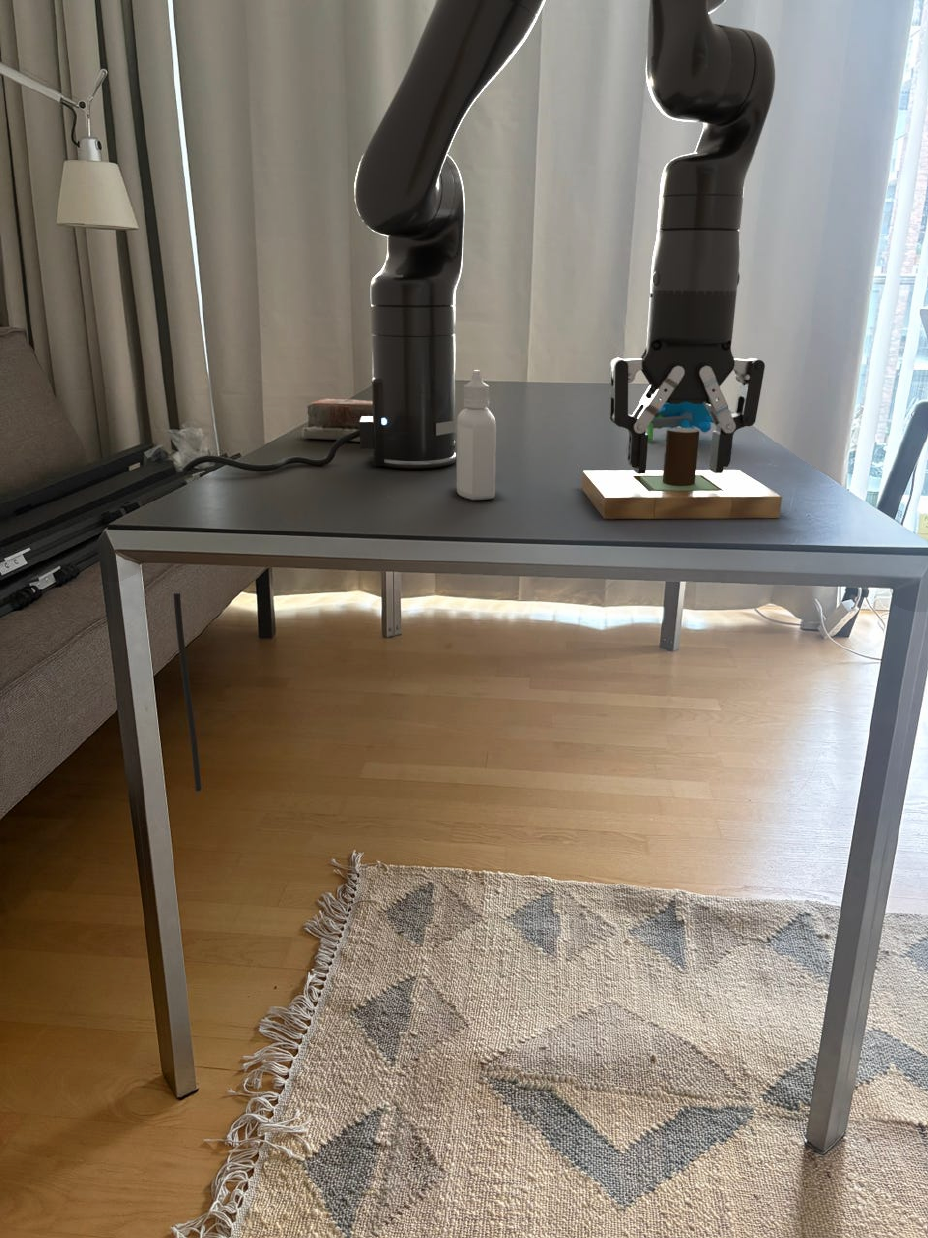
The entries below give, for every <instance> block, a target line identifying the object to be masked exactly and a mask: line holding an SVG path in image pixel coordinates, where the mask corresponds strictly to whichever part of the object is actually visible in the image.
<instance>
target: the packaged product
mask: <svg viewBox="0 0 928 1238" xmlns="http://www.w3.org/2000/svg"><path fill="white" fill-rule="evenodd" d="M362 416H373V404H372V400H364V399H346V398H345V399H343V398H321V399H318V400H315V401H313V402H311V403H309V404H308V405H307V417H308V418H307V426H306V427H305V426H303V427H302V430H301V436H302V439H307V440H319V441H334V442H336V441H337V440H339V439H340V438H342V437H344V436H346V435H348V434H350V433H353V432H355V431H357V430H360V427H359V422H360V419H361V417H362ZM349 442H350V443H351V442H352V443H360V437H357V438H355V439H353V440H350V441H349Z"/></svg>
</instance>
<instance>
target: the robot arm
mask: <svg viewBox="0 0 928 1238" xmlns="http://www.w3.org/2000/svg"><path fill="white" fill-rule="evenodd" d="M726 1H727V0H649V6H648V20H647V21H648V22H647V26H648V27H647V43H646V60H645V76H646V84H647V87H648V88H647V89H648V91H649V93H650V96H651V99H652V101H653V103H654V104H655V106H656V107H657V108H658V110H659V111H660V113H662V114H663V115H664V116H666V117H667V118H669V119H672V120H675V121H680V122H689V123H700V124H703V126H702V131H701V134H700V137H699V140H698V142H697V145H696V148H695V150H694V152H693V153H688V154H683V155H680V156H677V157H674V158H673V159H671V160H670V161H669V162H667V164H666V165H665V166H664V169H663V172H662V176H661V181H660V192H659V205H658V217H657V232H656V239H655V244H654V249H653V254H652V261H651V262H652V263H651V274H650V289H649V302H648V315H647V316H648V317H647V331H646V343H645V344H646V345H645V349H644V351H643V353H642V354H641V356H640V358H622V357H621V358H620V357H614V358H612V359H611V360H610V362H609V419H610V421H611V422H612V423H613V424H615V426H617V427H618V428H623V429H626V430H627V431H628V447H627V462H628V465H629V466H630V467H631V468H633V471H635V472H636V473H637V474H645V472H646V471H647V459H648V458H647V457H648V447H649V446H648V443H649V441H648V434H647V433H646V432H647V430H648V426H649V424H650V423H651V421H652V420H653V418H654V417H655V415H656V414H658V413H659V412H660V410H661V409H662V407H663V406H664V404H665V403H666V402H667V403H669V404H679V403H683V402H690V403H694V404H703V403H704V405H705V407H706V409H707V410H708V411H709V413H710V415H711V417H712V420H713V422H714V423H713V424H714V426H715V430H712V433H711V435H712V436H711V444H710V445H711V446H710V454H709V465H708V467H709V470H711V471H712V472H714V473H722V472H723V470H725V469H724V468H728V467H729V465H730V463H731V458H732V450H733V449H732V448H733V439H734V434H735V432H736V431H737V430H740V429H742V428H745V427H753V426H754V424H755V423H756V420H757V415H758V408H759V403H760V397H761V391H762V386H763V380H764V373H765V368H766V365H765V362H764V360H761V359H759V358H758V359H757V358H754V357H747V358H745V359H744V358H734V355H733V353H732V341H733V331H734V323H735V313H736V303H737V295H738V286H739V284H740V265H741V264H740V263H741V244H740V243H741V242H740V241H741V239H740V235H741V231H740V230H741V223H742V213H743V203H744V195H745V194H744V192H745V184H746V183H745V182H746V178H747V175H748V173H749V170H750V167H751V164H752V161H753V160H754V159H753V158H754V156H755V153H756V150H757V148H758V144H759V141H760V138H761V135H762V133H763V129H764V126H765V123H766V120H767V118H768V114H769V111H770V108H771V105H772V101H773V98H774V93H775V87H776V64H775V59H774V54H773V51H772V49H771V46H770V44H769V42H768V41H767V40H766V39H765V38H764V36H762V35H761V34H760V33H758V32H755V31H753V30H749V29H745V28H739V27H734V26H729V25H723V24H718V23H713V21H712V19H711V17H710V14H711V13H713V12H715V11H716V10H717V9H718V8H719V7H721V6H722V5H723V4H724V3H725V2H726ZM545 2H546V0H436V2H435V3H434V6H433V9H432V10H431V13H430V15H429V17H428V20H427V21H426V24H425V26H424V29H423V32H422V34H421V36H420V38H419V41H418V43H417V45H416V48H415V50H414V53H413V56H412V58H411V61H410V63H409V66H408V68H407V70H406V71H405V74H404V76H403V78H402V81H401V82H400V84H399V87H398V88H397V91H396V92H395V93H394V96H393V97H392V100H391V102H390V104H389V105H388V107H387V109H386V111H385V113H384V115H383V116H382V118H381V121H380V122H379V124H378V125H377V128H376V129H375V131H374V134H373V135H372V137H371V139H370V141H369V142H368V144H367V147H366V148H365V150H364V152H363V155H362V156H361V159H360V161H359V164H358V167H357V170H356V174H355V180H354V185H353V187H354V189H353V191H354V192H353V193H354V202H355V207H356V211H357V213H358V215H359V218H360V220H362V222H363V224H364V225H365V226H366V227H367V228H368V229H369V230H371V231H372V232H374V233H376V234H379V235H381V236H385V237H387V247H386V258H385V261H384V264H383V266H382V268H381V269H380V271H379V272H378V273H377V274H375V276H374V277H372V279H371V281H370V305H371V306H370V314H371V315H370V321H371V353H372V356H371V357H372V380H371V397H372V398H371V401H372V404H373V416H362V417H361V419H360V422H359V427H360V430H357V431H355V432H353V433H350V434H348V435H346V436H344V437H342V438H340V439H339V440H337V441H334V443H333V444H332V445H331V446H330V449H329V452H328V454H327V455H326V456H325V457H324V458H320V459H314V458H310V457H305V456H298V455H297V456H290V457H289V456H288V457H285V458H283V459H280V460H278V461H276V462H274V463H269V464H253V463H247V462H242V461H238V460H234V459H232V458H228V457H224V456H221V455H215V454H214V455H210V454H209V455H201V456H199V457H197V458H195V459H192V461H190V462H188V463H186V465H185V466H184V467H183V468H182V470H181V471H182V472H190V471H192V470H193V469H194V468H196V467H197V466H199V465H201V464H207V463H216V464H221V465H225V466H229V467H232V468H236V469H240V470H243V471H249V472H257V473H259V472H262V473H264V472H273V471H276V470H278V469H280V468H281V469H282V468H283V467H285V466H287V465H291V464H305V465H308V466H312V467H313V466H315V467H323V466H326V465H328V464H330V463H331V462H332V461H333V460H334V459H335V456H336V454H337V451H338V449H339V448H340V447H342V446H343V445H344V444H346V443H349V442H350V440H353V439H355V438H357V437H360V442H359V448H360V449H373V466H374V467H387V468H392V469H404V470H405V469H407V470H408V469H409V470H422V469H423V470H424V469H435V468H442V467H446V466H450V465H452V464H454V463H456V462H457V452H456V292H457V287H458V284H459V282H460V279H461V275H462V271H463V270H462V269H463V255H464V233H465V232H464V231H465V191H464V184H463V179H462V175H461V172H460V170H459V168H458V166H457V164H456V162H455V161H454V160H453V158H452V157H451V156H449V154H448V153H449V151H450V148H451V146H452V143H453V140H454V138H455V136H456V134H457V132H458V130H459V128H460V126H461V124H462V122H463V119H464V118H465V117H466V115H467V113H468V112H469V110H470V108H471V107H472V105H473V104H474V103H475V101H476V100H477V98H479V96H480V95H481V93H482V92H483V91H484V90H485V89H486V88H487V87H488V86H489V84H490V83H491V82H492V81H493V80H494V79H495V78H496V76H497V75H498V74H499V73H500V72H501V71H502V70H503V69H504V68H505V66H507V64H508V63H509V62H510V61H511V59H512V58H513V57H514V56H515V54H517V52H518V50H519V49H520V48H521V46H522V45H524V43H525V41H526V39H527V38H528V36H529V34H530V33H531V31H532V29H533V27H534V25H535V23H536V22H537V20H538V17H539V15H540V13H541V11H542V9H543V7H544V5H545ZM639 371H641V372H642V374H643V376H644V377H645V379H646V381H647V382H648V384H649V386H648V387H647V388H646V391H645V392H644V393H643V395H642V397H641V398H640V400H639V402H638V403H639V404H638V406H637V407H636V409H634V412H633V414H629V384H631V383H633V382H634V381H635V379H636V376H637V373H638V372H639ZM732 372H734V376H735V380H736V381H737V382H738V383H739V386H738V392H737V398H736V404H735V411H734V412H733V413H731V411H730V409H729V404H728V402H727V400H726V398H725V395H724V393H723V391H722V389H721V386H722V385H723V383H724V382H725V381H726V379H727V378H728V377H729V376H730V374H731V373H732ZM173 607H174V617H175V628H176V630H175V631H176V638H177V646H178V654H179V662H180V670H181V677H182V686H183V693H184V700H185V708H186V716H187V723H188V731H189V740H190V747H191V757H192V766H193V776H194V778H193V779H194V787H195V788H194V789H195V792H201V791H202V789H203V788H202V779H201V767H200V766H201V765H200V757H199V756H200V755H199V748H198V747H199V746H198V739H197V732H196V731H197V730H196V723H195V722H196V721H195V714H194V706H193V700H192V691H191V685H190V684H191V683H190V676H189V669H188V661H187V653H186V644H185V637H184V626H183V615H182V614H183V613H182V602H181V592H179V593H173Z"/></svg>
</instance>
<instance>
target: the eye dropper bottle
mask: <svg viewBox="0 0 928 1238" xmlns="http://www.w3.org/2000/svg"><path fill="white" fill-rule="evenodd" d="M463 407H464V408H463V409H462V410H461V411H460V412H459V413H458V414H457V418H456V492H457V494H458V495H459V496H460V497H461V498H464V499H466V500H470V501H490V500H493V499H494V498H495V495H496V453H497V451H496V450H497V449H496V448H497V447H496V445H497V444H496V443H497V435H496V434H497V422H496V418H495V416H494V414H493V412H492V411H491V410H490V409H489V408H488V407H490V385H489V384H487V383H485V382H484V381H483V377H482V372H481V370H480V369H474V370H473V369H472V375H471V379H470V381H469V382H468V383H466V384H464V385H463Z"/></svg>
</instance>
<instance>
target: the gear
mask: <svg viewBox="0 0 928 1238" xmlns="http://www.w3.org/2000/svg"><path fill="white" fill-rule="evenodd" d="M712 424H714V422H713V420H712V417H711V415H710V413H709V411H708V410H707V409H706V407H705V405H704V403H703V404H694V403H690V402H683V403H679V404H669V403H667V402H666V403H665V404H664V406H663V407H662V409H661V410H660V412H659V413H658V414H656V415H655V417H654V418H653V420H652V421H651V423H650V424H649V426H648V428H647V429H646V432H647V433H646V434H648V442H653V441H654V429H659V430H661V429H664V428H666V430H667V429H669V428H678V427H679V428H693V429H695V428H696V429H698V430H699V431H700V432H702V433H705V434H706V433H707V432H709V431H710V430H711V429H712Z"/></svg>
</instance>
